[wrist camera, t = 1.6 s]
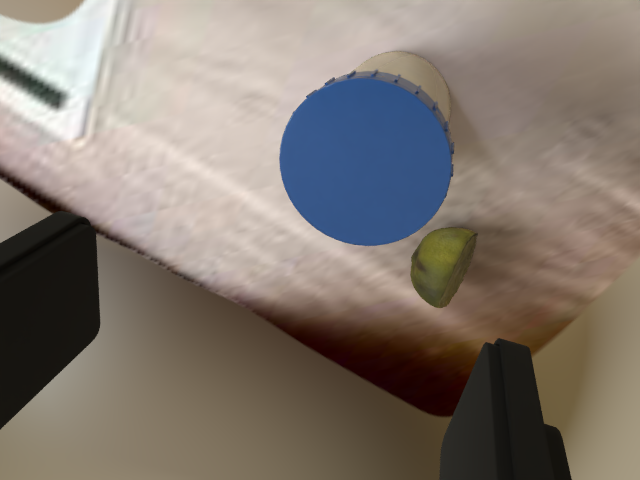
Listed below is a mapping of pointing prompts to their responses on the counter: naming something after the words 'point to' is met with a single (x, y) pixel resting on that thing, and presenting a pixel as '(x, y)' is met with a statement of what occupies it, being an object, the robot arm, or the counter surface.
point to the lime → (442, 264)
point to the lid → (367, 158)
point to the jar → (413, 75)
